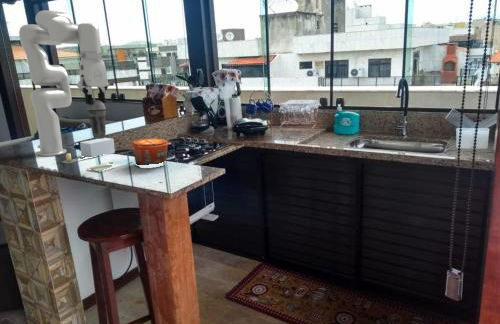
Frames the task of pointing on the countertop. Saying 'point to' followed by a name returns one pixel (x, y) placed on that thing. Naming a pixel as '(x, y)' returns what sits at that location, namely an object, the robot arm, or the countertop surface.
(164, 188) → the countertop surface
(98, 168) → the board
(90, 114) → the beverage cup
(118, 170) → the countertop surface
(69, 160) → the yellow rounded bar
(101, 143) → the cover
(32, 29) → the robot arm
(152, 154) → the food container
